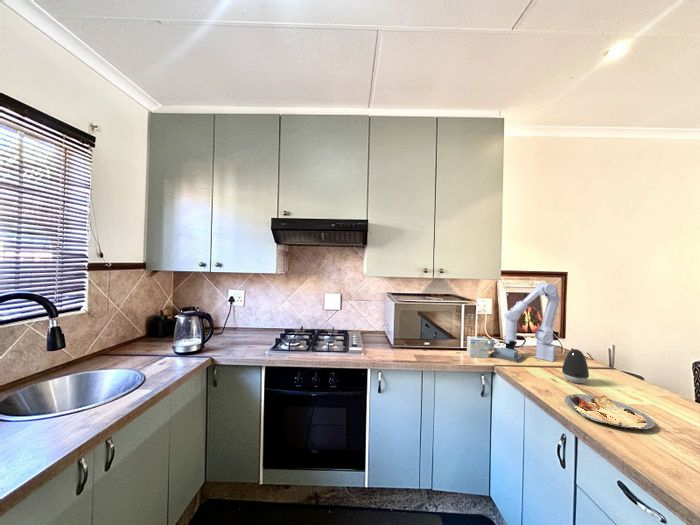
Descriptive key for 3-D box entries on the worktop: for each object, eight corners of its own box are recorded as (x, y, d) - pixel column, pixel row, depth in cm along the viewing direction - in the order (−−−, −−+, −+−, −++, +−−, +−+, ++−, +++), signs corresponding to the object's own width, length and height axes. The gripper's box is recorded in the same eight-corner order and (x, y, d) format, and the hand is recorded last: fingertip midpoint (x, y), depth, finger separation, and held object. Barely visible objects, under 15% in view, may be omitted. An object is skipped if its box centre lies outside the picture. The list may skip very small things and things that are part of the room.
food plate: (553, 396, 127) (553, 388, 127) (614, 401, 125) (614, 393, 124) (594, 431, 102) (595, 421, 102) (672, 438, 100) (672, 428, 100)
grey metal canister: (495, 349, 196) (495, 340, 196) (492, 351, 192) (493, 341, 192) (487, 347, 199) (487, 338, 199) (484, 349, 195) (484, 339, 195)
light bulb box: (484, 354, 183) (485, 336, 183) (488, 358, 177) (489, 339, 177) (466, 353, 184) (466, 335, 184) (469, 357, 177) (470, 338, 177)
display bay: (524, 357, 180) (524, 354, 180) (517, 362, 170) (517, 359, 170) (498, 352, 189) (498, 348, 189) (490, 356, 180) (490, 353, 180)
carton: (517, 358, 179) (518, 350, 179) (513, 361, 174) (513, 353, 174) (501, 354, 186) (501, 347, 186) (496, 357, 180) (497, 349, 180)
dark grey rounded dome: (583, 379, 148) (584, 347, 148) (592, 387, 138) (593, 353, 138) (558, 375, 152) (559, 345, 152) (565, 383, 142) (567, 350, 142)
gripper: (507, 327, 192) (506, 349, 192) (500, 331, 181) (499, 354, 181) (520, 329, 187) (519, 352, 187) (513, 333, 176) (512, 357, 176)
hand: (510, 353), depth 184 cm, fingers closed
